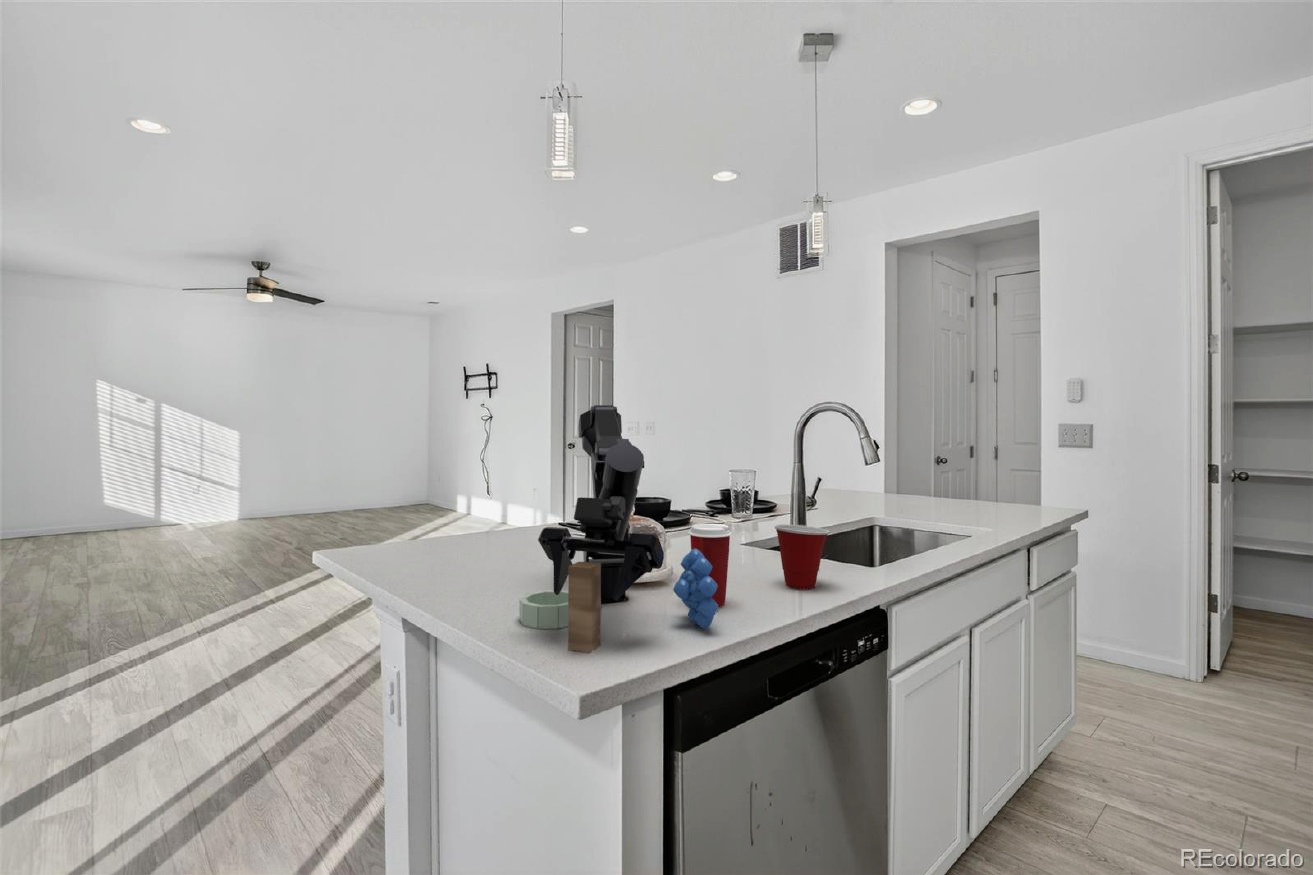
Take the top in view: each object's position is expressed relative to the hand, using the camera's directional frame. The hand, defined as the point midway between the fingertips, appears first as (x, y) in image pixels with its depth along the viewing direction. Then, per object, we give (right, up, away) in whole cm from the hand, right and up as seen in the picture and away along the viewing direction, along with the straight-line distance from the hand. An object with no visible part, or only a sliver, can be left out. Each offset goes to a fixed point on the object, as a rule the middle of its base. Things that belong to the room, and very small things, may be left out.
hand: (584, 596), depth 94 cm
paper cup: (+20, -7, +24) cm, 32 cm away
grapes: (+16, -8, +11) cm, 21 cm away
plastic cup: (+39, -7, +37) cm, 54 cm away
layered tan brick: (0, -8, +1) cm, 8 cm away
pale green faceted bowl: (-7, -7, +14) cm, 17 cm away
